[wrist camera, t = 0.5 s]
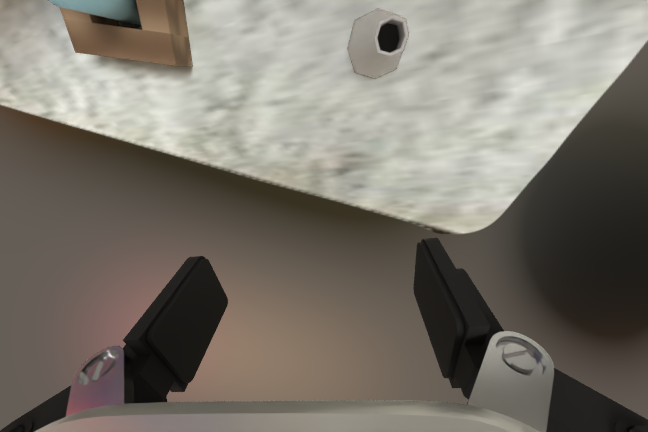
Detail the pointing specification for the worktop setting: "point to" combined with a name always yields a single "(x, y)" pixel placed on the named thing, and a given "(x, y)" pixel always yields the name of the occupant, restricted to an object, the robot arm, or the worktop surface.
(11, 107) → the worktop surface
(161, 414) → the robot arm
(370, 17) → the flask
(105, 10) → the teal peg
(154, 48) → the walnut pocket block
